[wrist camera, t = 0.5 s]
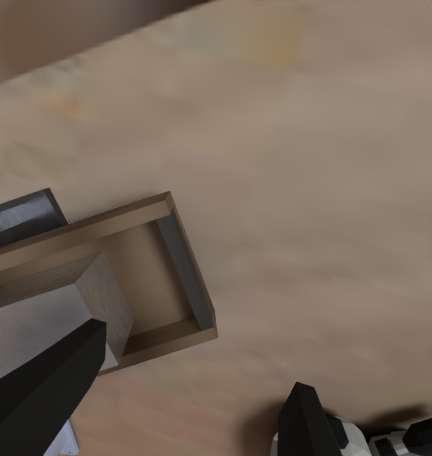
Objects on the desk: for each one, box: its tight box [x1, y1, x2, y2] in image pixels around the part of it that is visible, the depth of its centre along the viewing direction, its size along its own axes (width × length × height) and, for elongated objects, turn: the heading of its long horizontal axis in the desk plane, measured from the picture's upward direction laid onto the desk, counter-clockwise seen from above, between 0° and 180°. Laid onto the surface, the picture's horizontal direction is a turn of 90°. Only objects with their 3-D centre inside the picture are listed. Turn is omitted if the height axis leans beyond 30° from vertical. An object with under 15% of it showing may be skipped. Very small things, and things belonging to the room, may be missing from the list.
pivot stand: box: [0, 188, 68, 247], centre depth 20 cm, size 7×14×6 cm, turn 18°
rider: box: [0, 252, 135, 378], centre depth 15 cm, size 7×5×5 cm
